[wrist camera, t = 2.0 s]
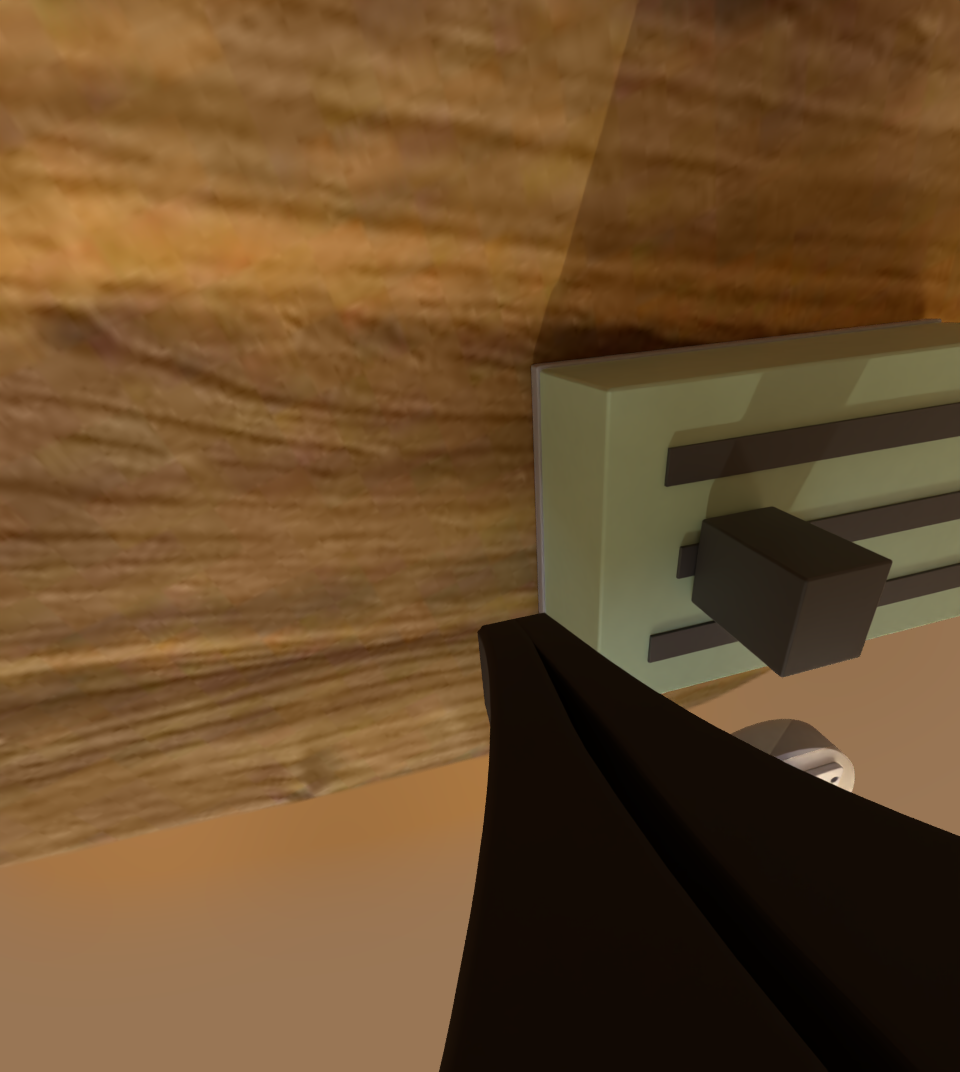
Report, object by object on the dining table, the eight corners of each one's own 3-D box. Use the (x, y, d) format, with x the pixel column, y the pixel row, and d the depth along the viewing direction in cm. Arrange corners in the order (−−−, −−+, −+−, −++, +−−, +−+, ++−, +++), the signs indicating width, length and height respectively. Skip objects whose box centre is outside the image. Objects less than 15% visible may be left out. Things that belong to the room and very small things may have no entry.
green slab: (854, 555, 20) (981, 616, 16) (538, 625, 17) (594, 717, 13) (927, 318, 16) (1121, 318, 12) (530, 364, 13) (605, 384, 9)
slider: (756, 587, 13) (860, 657, 10) (689, 601, 12) (781, 679, 10) (772, 505, 12) (895, 559, 9) (701, 518, 11) (807, 579, 9)
